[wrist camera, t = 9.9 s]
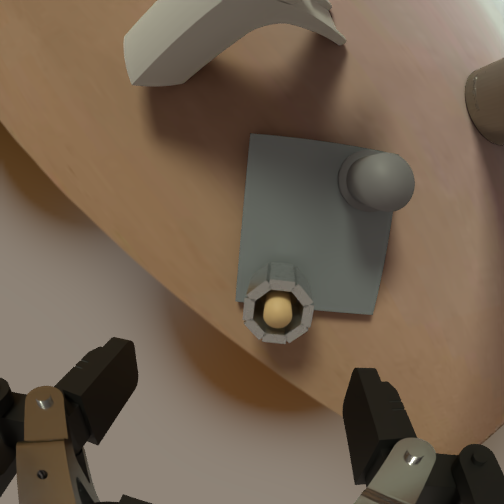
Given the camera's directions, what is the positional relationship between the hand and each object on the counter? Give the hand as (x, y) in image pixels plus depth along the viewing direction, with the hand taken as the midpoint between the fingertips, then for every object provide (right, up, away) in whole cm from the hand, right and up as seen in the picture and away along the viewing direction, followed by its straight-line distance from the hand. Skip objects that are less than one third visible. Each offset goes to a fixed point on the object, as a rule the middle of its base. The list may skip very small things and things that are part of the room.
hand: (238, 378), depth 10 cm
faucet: (0, +25, +15) cm, 30 cm away
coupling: (+3, +1, +18) cm, 19 cm away
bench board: (+7, +7, +19) cm, 21 cm away
